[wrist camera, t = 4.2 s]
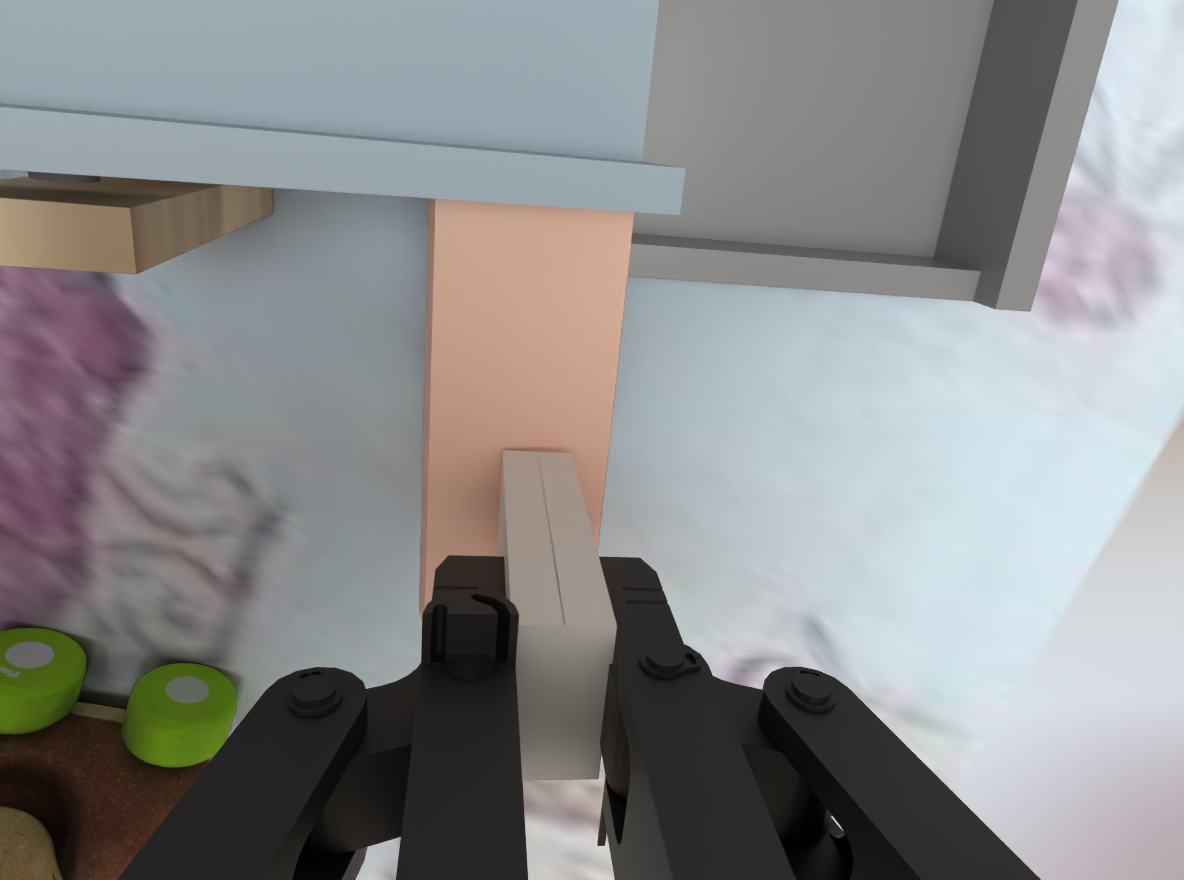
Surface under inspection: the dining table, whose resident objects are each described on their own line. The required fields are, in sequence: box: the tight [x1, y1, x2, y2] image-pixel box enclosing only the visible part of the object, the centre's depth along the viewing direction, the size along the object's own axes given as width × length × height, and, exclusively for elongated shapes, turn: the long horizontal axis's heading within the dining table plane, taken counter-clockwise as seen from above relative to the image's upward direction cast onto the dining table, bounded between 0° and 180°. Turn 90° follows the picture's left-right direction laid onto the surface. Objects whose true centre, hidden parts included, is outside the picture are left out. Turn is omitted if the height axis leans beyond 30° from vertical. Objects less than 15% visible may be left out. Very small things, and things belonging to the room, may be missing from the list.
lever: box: [0, 0, 686, 618], centre depth 14 cm, size 20×16×5 cm
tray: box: [627, 0, 1118, 312], centre depth 20 cm, size 13×10×4 cm
